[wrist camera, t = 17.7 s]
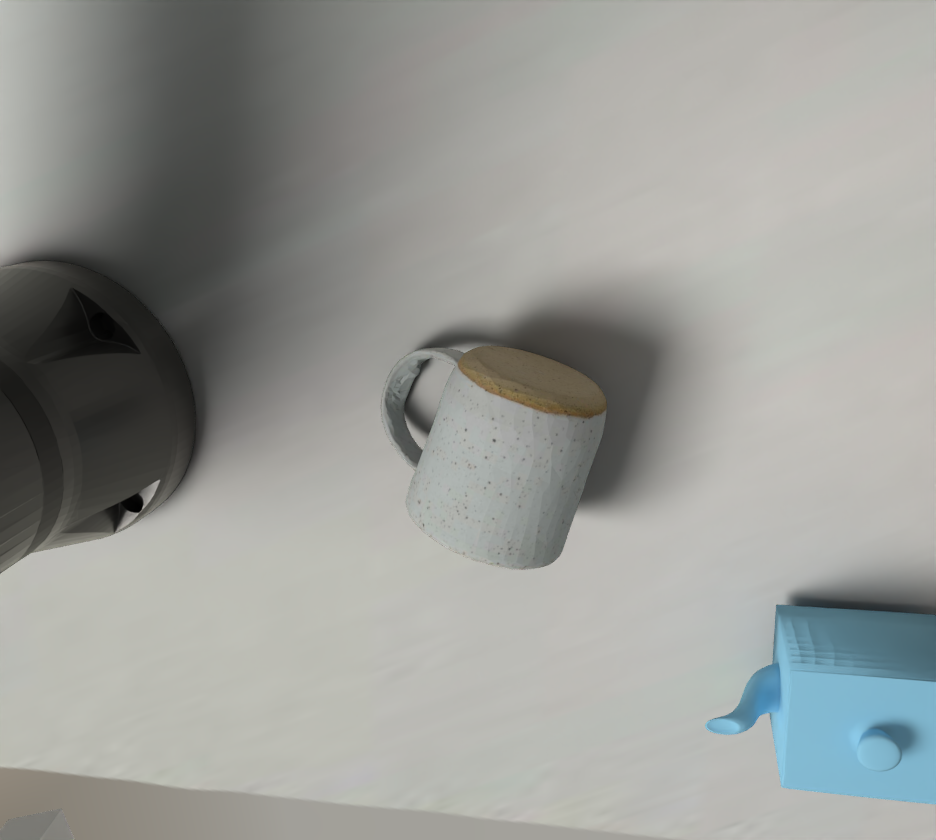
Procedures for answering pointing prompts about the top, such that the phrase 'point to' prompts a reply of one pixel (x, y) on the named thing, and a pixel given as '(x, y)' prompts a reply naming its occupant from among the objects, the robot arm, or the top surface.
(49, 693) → the top surface
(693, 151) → the top surface
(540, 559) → the ceramic mug
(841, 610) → the teapot
